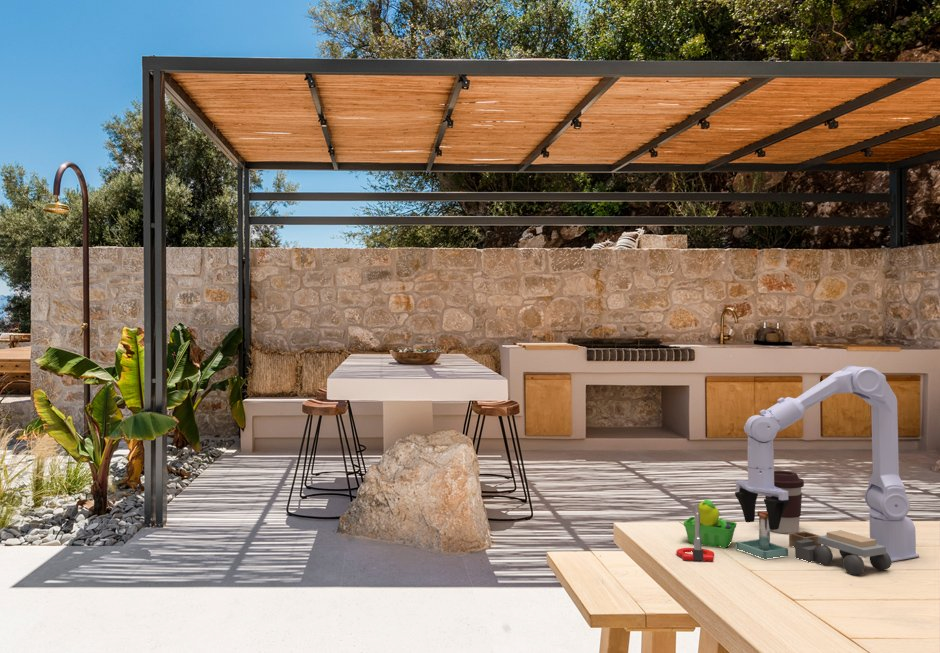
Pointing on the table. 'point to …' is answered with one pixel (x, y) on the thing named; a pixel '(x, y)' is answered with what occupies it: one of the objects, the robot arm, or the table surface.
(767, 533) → the pin
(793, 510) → the coffee cup
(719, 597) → the table surface
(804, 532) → the pin socket
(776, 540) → the table surface
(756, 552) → the tray
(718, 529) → the fruit basket
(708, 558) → the tow hook
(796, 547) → the block
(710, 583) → the table surface
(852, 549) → the trolley
